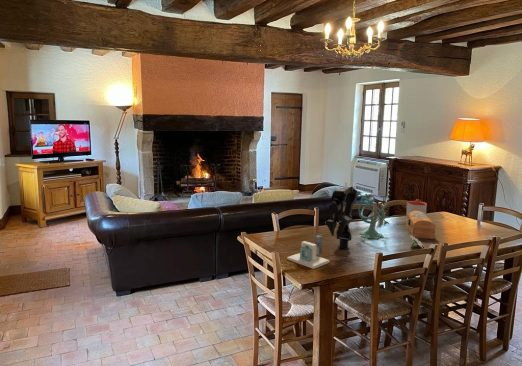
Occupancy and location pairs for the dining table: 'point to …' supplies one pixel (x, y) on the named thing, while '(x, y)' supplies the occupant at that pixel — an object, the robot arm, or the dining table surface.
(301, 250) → the spacer
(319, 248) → the grey block
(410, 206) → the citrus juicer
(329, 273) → the dining table surface
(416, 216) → the wooden box
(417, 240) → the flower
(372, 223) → the green tall branching piece
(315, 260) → the white mounting stand
